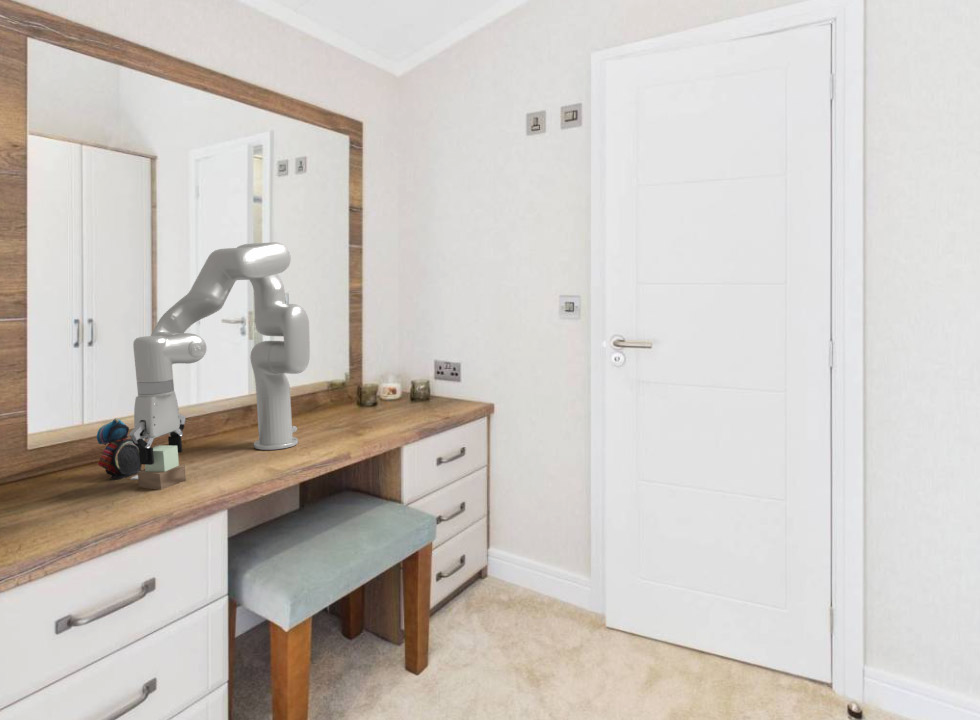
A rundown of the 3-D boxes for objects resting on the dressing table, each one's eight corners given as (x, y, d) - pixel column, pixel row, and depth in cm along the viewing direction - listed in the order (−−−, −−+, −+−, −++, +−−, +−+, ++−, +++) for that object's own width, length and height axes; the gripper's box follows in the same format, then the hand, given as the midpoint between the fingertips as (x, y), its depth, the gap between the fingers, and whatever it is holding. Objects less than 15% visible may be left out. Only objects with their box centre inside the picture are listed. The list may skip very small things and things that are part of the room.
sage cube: (160, 465, 141) (158, 445, 140) (178, 465, 140) (177, 445, 140) (145, 471, 136) (143, 450, 135) (164, 471, 135) (163, 451, 135)
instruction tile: (153, 469, 150) (153, 468, 150) (171, 470, 149) (170, 468, 149) (130, 479, 142) (130, 477, 142) (148, 480, 141) (148, 478, 141)
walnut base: (164, 479, 143) (163, 463, 142) (185, 481, 140) (184, 465, 140) (138, 487, 136) (137, 471, 136) (161, 490, 134) (159, 474, 133)
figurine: (131, 468, 152) (126, 412, 150) (149, 470, 149) (145, 414, 147) (92, 479, 142) (87, 420, 141) (111, 482, 140) (106, 422, 138)
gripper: (167, 382, 145) (172, 448, 147) (112, 394, 128) (120, 468, 130) (194, 382, 144) (199, 448, 146) (143, 394, 127) (149, 469, 129)
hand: (162, 458), depth 138 cm, fingers open, 9 cm apart
